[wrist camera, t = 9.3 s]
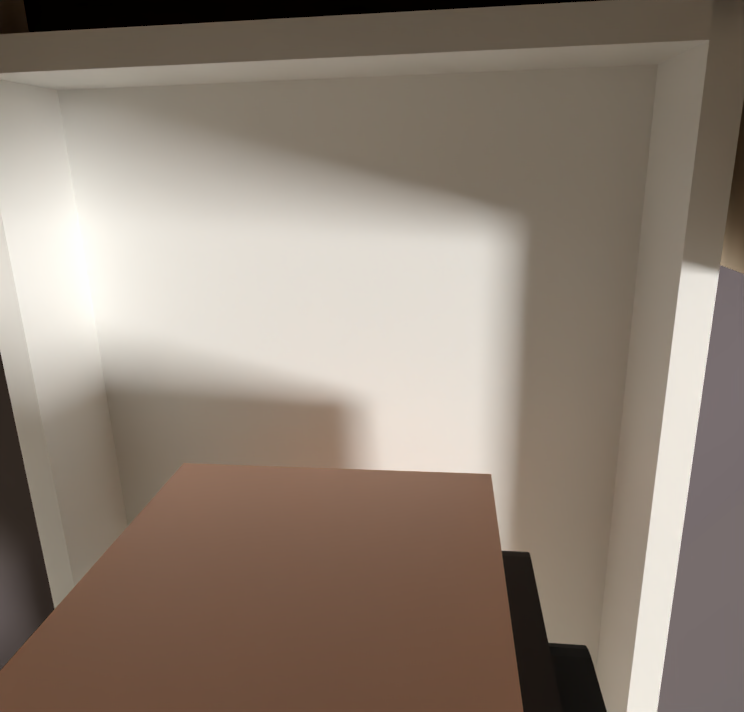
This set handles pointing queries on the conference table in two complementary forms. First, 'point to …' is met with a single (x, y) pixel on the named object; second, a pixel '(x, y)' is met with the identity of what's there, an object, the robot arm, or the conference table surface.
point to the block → (286, 601)
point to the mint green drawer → (380, 274)
